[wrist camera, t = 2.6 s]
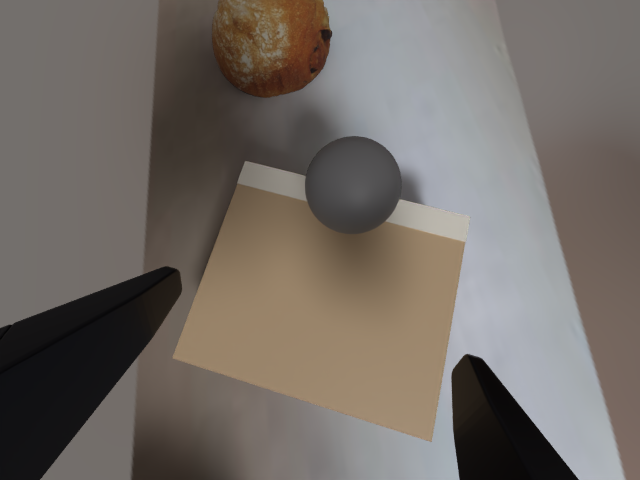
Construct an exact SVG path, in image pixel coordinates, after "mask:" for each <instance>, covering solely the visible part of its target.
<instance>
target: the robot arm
mask: <svg viewBox="0 0 640 480" xmlns="http://www.w3.org/2000/svg"><path fill="white" fill-rule="evenodd" d="M181 292H182V284H181V277H180V272H179V270H177V269H175V268H171V267H167V266H165V267H162V268H159V269H156V270H154V271H151V272H148V273H146V274H143V275H140V276H138V277H135V278H133V279H130V280H127V281H124V282H122V283H119V284H117V285H114V286H111V287H109V288H106V289H103V290H101V291H98V292H95V293H93V294H90V295H87V296H85V297H82V298H79V299H77V300H74V301H71V302H69V303H66V304H64V305H61V306H58V307H55V308H53V309H50V310H47V311H45V312H42V313H40V314H37V315H34V316H31V317H29V318H26V319H23V320H21V321H18V322H16V323H14V324H13V325H7V326H5V327H2V328H0V480H40V479H41V478H42V477H43V475H44V474H45V473H46V471H47V470H48V469H49V468H50V466H51V465H52V464H53V463H54V461H55V460H56V459H57V458H58V456H59V455H60V454H61V453H62V451H63V450H64V449H65V448H66V446H67V445H68V444H69V443H70V441H71V440H72V439H73V437H74V436H75V435H76V434H77V432H78V431H79V430H80V429H81V427H82V426H83V425H84V424H85V422H86V421H87V420H88V418H89V417H90V416H91V415H92V414H93V412H94V411H95V410H96V408H97V407H98V406H99V405H100V403H101V402H102V401H103V399H104V398H105V397H106V396H107V395H108V393H109V392H110V391H111V389H112V388H113V387H114V386H115V385H116V383H117V382H118V381H119V379H120V378H121V377H122V376H123V374H124V373H125V372H126V370H127V369H128V368H129V367H130V366H131V364H132V363H133V362H134V360H135V359H136V358H137V357H138V355H139V354H140V353H141V352H142V350H143V349H144V348H145V347H146V345H147V344H148V343H149V342H150V340H151V339H152V338H153V336H154V335H155V333H156V332H157V330H158V329H159V327H160V326H161V324H162V323H163V321H164V320H165V318H166V316H167V315H168V313H169V312H170V310H171V309H172V307H173V306H174V304H175V302H176V301H177V299H178V298H179V296H180V294H181ZM452 409H453V432H454V441H455V449H456V456H457V463H458V470H459V478H460V480H579V479H578V478H577V477H576V476H575V474H574V473H573V472H572V471H571V469H570V468H569V467H568V466H567V464H566V463H565V462H564V461H563V459H562V458H561V457H560V456H559V454H558V453H557V452H556V451H555V449H554V448H553V447H552V445H551V444H550V443H549V442H548V440H547V439H546V438H545V437H544V435H543V434H542V433H541V432H540V430H539V429H538V428H537V427H536V425H535V424H534V423H533V422H532V420H531V419H530V418H529V417H528V415H527V414H526V413H525V412H524V410H523V409H522V408H521V407H520V405H519V404H518V403H517V402H516V400H515V399H514V398H513V397H512V395H511V394H510V393H509V391H508V390H507V389H506V388H505V386H504V385H503V384H502V383H501V381H500V380H499V379H498V378H497V376H496V375H495V374H494V373H493V371H492V370H491V369H490V368H489V366H488V365H487V364H486V363H485V361H484V360H483V359H481V358H480V357H477V356H473V355H470V354H466V355H464V356H463V357H462V359H461V360H460V361H459V362H458V364H457V365H456V366H455V367H454V369H453V371H452Z"/></svg>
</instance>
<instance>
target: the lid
mask: <svg viewBox="0 0 640 480" xmlns="http://www.w3.org/2000/svg"><path fill="white" fill-rule="evenodd" d="M401 188H402V181H401V174H400V170H399V167H398V165H397V162H396V161H395V159H394V157H393V156H392V154H391V153H390V152H389V151H388V150H387V149H386V148H385V147H384V146H382V145H381V144H379V143H378V142H376V141H374V140H371V139H368V138H365V137H358V136H351V137H344V138H340V139H337V140H335V141H332V142H331V143H329V144H327V145H326V146H325V147H323V148H322V149H321V150H320V151H319V152H318V153H317V154H316V156H315V157H314V158H313V160H312V162H311V163H310V165H309V168H308V170H307V174H306V176H305V175H301V174H297V173H293V172H289V171H285V170H280V169H276V168H272V167H268V166H264V165H260V164H256V163H252V162H248V161H245V163H244V166H243V168H242V171H241V174H240V176H239V179H238V182H237V186H236V189H235V192H234V194H233V197H232V200H231V202H230V205H229V208H228V210H227V213H226V216H225V218H224V221H223V224H222V227H221V229H220V232H219V235H218V237H217V240H216V243H215V245H214V248H213V251H212V253H211V256H210V259H209V261H208V264H207V267H206V269H205V272H204V275H203V277H202V280H201V283H200V286H199V288H198V291H197V294H196V296H195V299H194V302H193V304H192V307H191V310H190V312H189V315H188V318H187V320H186V323H185V326H184V328H183V331H182V334H181V336H180V339H179V342H178V344H177V347H176V350H175V353H174V355H173V359H177V360H180V361H183V362H186V363H189V364H192V365H195V366H198V367H201V368H204V369H207V370H211V371H214V372H217V373H220V374H223V375H226V376H229V377H232V378H235V379H238V380H241V381H245V382H248V383H251V384H254V385H257V386H260V387H263V388H266V389H269V390H272V391H275V392H279V393H282V394H285V395H288V396H291V397H294V398H297V399H300V400H303V401H306V402H309V403H313V404H316V405H319V406H322V407H325V408H328V409H331V410H334V411H337V412H340V413H343V414H346V415H350V416H353V417H356V418H359V419H362V420H365V421H368V422H371V423H374V424H377V425H380V426H384V427H387V428H390V429H393V430H396V431H399V432H402V433H405V434H408V435H411V436H414V437H418V438H421V439H424V440H427V441H430V442H432V436H433V430H434V424H435V418H436V412H437V406H438V401H439V395H440V389H441V383H442V377H443V371H444V365H445V359H446V353H447V347H448V341H449V335H450V329H451V323H452V317H453V312H454V306H455V300H456V294H457V288H458V282H459V276H460V270H461V264H462V258H463V252H464V246H465V242H466V239H467V233H468V227H469V221H470V216H466V215H462V214H458V213H454V212H450V211H446V210H442V209H438V208H434V207H430V206H426V205H422V204H418V203H414V202H410V201H405V200H401V199H399V198H400V194H401Z"/></svg>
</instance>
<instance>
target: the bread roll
mask: <svg viewBox="0 0 640 480" xmlns="http://www.w3.org/2000/svg"><path fill="white" fill-rule="evenodd" d="M331 36H332V31H331V30H330V27H329V16H328V12H327V8H326V7H324V2H323V0H219V1H218V10H217V11H216V12H215V14H214V18H213V24H212V43H213V50H214V55H215V58H216V60H217V63H218V66H219V68H220V70H221V71H222V73H223V74H224V76H225V77H226V78H227V79H228V80H229V81H230V82H231V83H232V84H233V85H234V86H235V87H237V88H238V89H240V90H242V91H243V92H245V93H248V94H251V95H253V96H257V97H264V98H267V97H272V96H278V95H280V94H287V93H290V92H294V91H297V90H300V89H302V88H303V87H305V86H306V85H307V84H308V83H310V82H311V81H312V80H313V79H314V78H315V77H316V76H317V75H318V74H319V73H320V71H321V70H322V69H323V67H324V65H325V62H326V58H327V56H328V53H329V47H330V38H331Z"/></svg>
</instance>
